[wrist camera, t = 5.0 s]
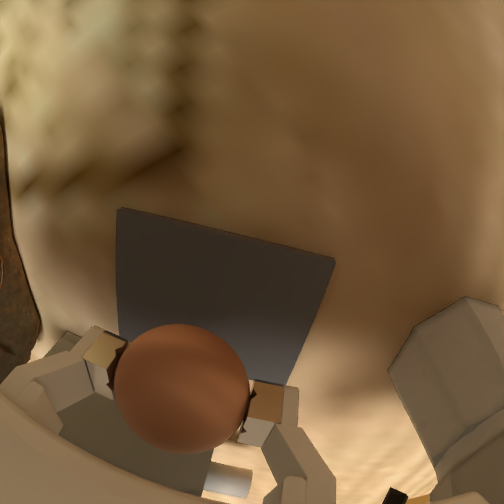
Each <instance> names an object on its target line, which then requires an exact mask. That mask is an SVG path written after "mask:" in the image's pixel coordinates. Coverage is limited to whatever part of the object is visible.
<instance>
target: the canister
mask: <svg viewBox="0 0 504 504" xmlns="http://www.w3.org/2000/svg"><path fill="white" fill-rule="evenodd" d="M39 326H40V319H39V317H38V314H37V311H36V308H35V306H34V303H33V300H32V297H31V294H30V291H29V288H28V285H27V281H26V278H25V275H24V271H23V268H22V264H21V260H20V257H19V254H18V251H17V249H16V246H15V243H14V240H13V234H12V227H11V219H10V210H9V199H8V191H7V183H6V172H5V157H4V142H3V133H2V127H1V125H0V384H1V383H2V382H3V381H4V380H5V379H6V377H7V376H8V375H9V374H10V373H11V372H12V371H13V370H14V369H15V367H17V366H20V365H23V364H26V363H27V362H28V361H29V360H30V356H31V350H32V349H33V348H34V346H35V343H36V340H37V335H38V330H39Z"/></svg>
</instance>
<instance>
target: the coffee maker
mask: <svg viewBox="0 0 504 504" xmlns="http://www.w3.org/2000/svg"><path fill="white" fill-rule="evenodd" d="M387 371H388V373H389V375H390V377H391V380H392V382H393V384H394V386H395V389H396V391H397V393H398V396H399V398H400V400H401V402H402V404H403V406H404V408H405V410H406V412H407V413H408V415H409V417H410V419H411V421H412V423H413V425H414V427H415V429H416V431H417V433H418V436H419V438H420V440H421V442H422V444H423V446H424V448H425V450H426V452H427V454H428V456H429V459H430V461H431V463H432V465H433V467H434V470H435V471H436V475H437V480H438V484H437V485H436V486H435V488H434V489H433V490H432V492H431V493H430V502H434V501H438V500H442V499H446V498H450V497H453V496H457V495H460V494H463V493H467V492H471V491H474V492H478V493H479V494H480V495H481V496H483V497H484V498H485V499H486V500H487V501H488V502H489V503H490V504H504V315H503V313H502V312H501V310H500V308H499V307H498V306H497V305H494V304H490V303H486V302H483V301H479V300H475V299H472V298H468V297H463V298H462V299H460V300H459V301H457V302H455V303H454V304H452V305H451V306H449V307H447V308H446V309H444V310H442V311H441V312H439V313H437V314H436V315H434V316H432V317H431V318H429V319H427V320H425V321H424V322H422V323H420V324H418V325H416V326H415V327H414V328H413V330H412V332H411V334H410V335H409V337H408V339H407V340H406V342H405V344H404V345H403V347H402V349H401V350H400V352H399V354H398V355H397V357H396V358H395V360H394V361H393V363H392V364H391V366H390V367H389V369H388V370H387ZM407 499H408V496H407V495H406V494H405V493H402V492H400V491H398V490H396V489H393V488H391V487H390V489H389V491H388V493H387V495H386V497H385V499H384V501H383V503H382V504H405V503H406V501H407Z"/></svg>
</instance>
